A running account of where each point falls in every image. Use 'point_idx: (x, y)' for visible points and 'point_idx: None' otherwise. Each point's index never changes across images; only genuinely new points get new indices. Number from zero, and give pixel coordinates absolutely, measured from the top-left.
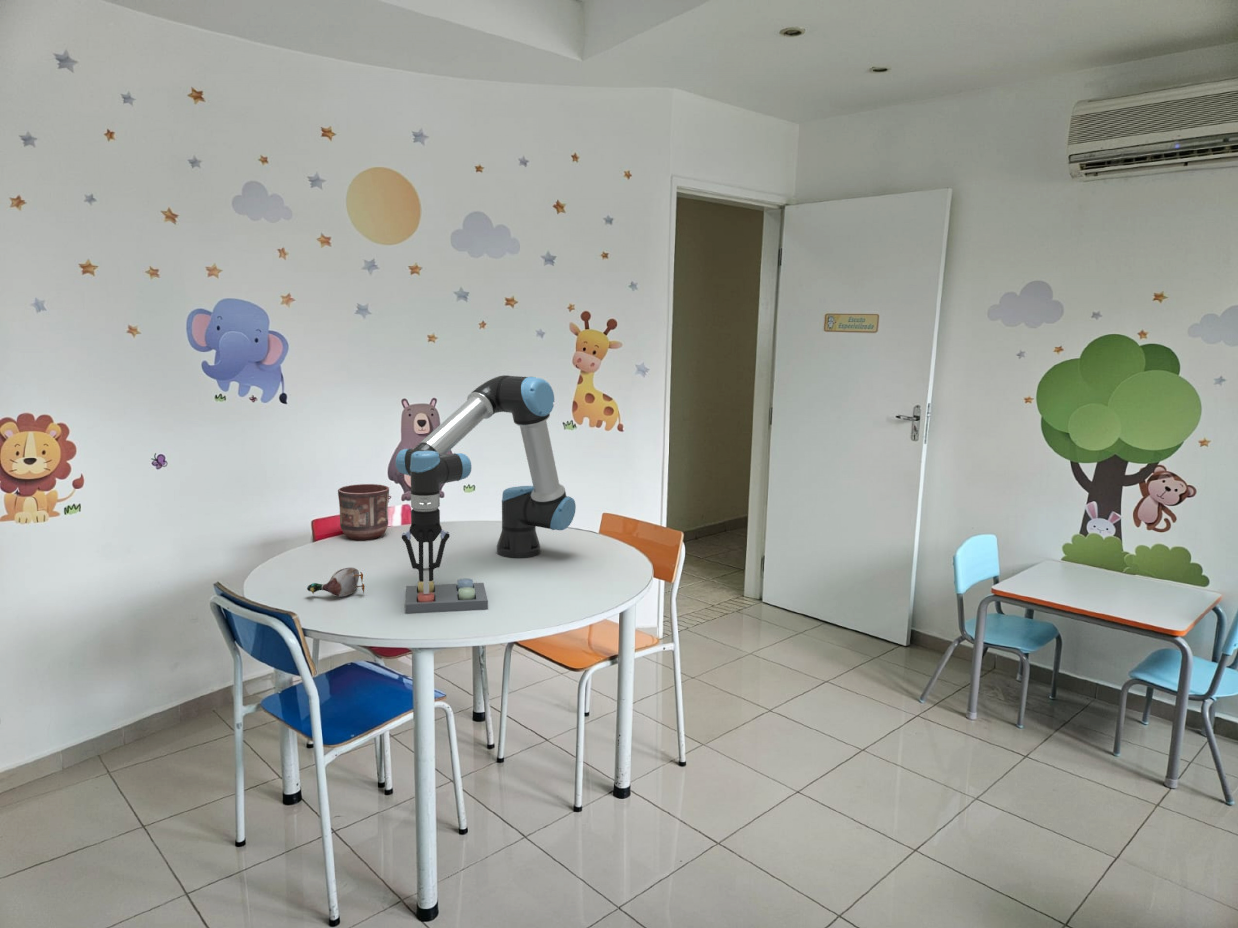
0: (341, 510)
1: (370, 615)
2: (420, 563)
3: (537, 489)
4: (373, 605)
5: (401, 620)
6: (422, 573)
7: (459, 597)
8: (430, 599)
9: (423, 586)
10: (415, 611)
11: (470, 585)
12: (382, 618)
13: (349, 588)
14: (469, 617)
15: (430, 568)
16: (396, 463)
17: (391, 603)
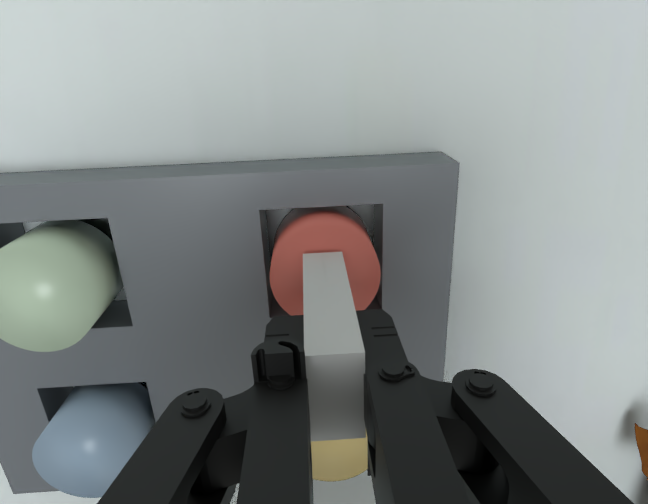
0: None
1: (636, 141)
2: (415, 417)
3: None
4: (596, 296)
5: (468, 25)
6: (369, 352)
7: (102, 257)
8: (293, 226)
9: (347, 275)
10: (382, 157)
11: (53, 418)
12: (577, 79)
13: None
14: (22, 29)
15: (285, 372)
16: None
17: (504, 317)
